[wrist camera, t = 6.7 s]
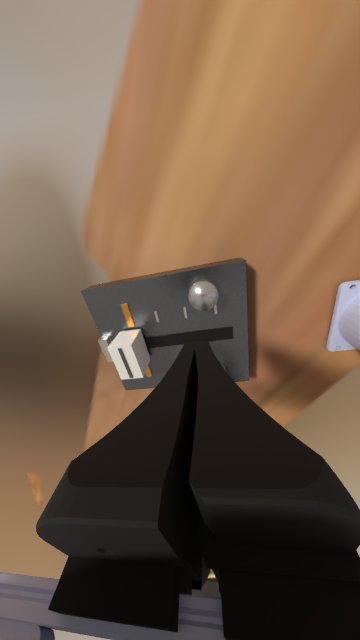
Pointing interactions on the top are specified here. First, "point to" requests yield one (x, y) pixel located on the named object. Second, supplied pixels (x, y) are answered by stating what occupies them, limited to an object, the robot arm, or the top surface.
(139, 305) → the console
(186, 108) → the top surface
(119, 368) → the fader cap
